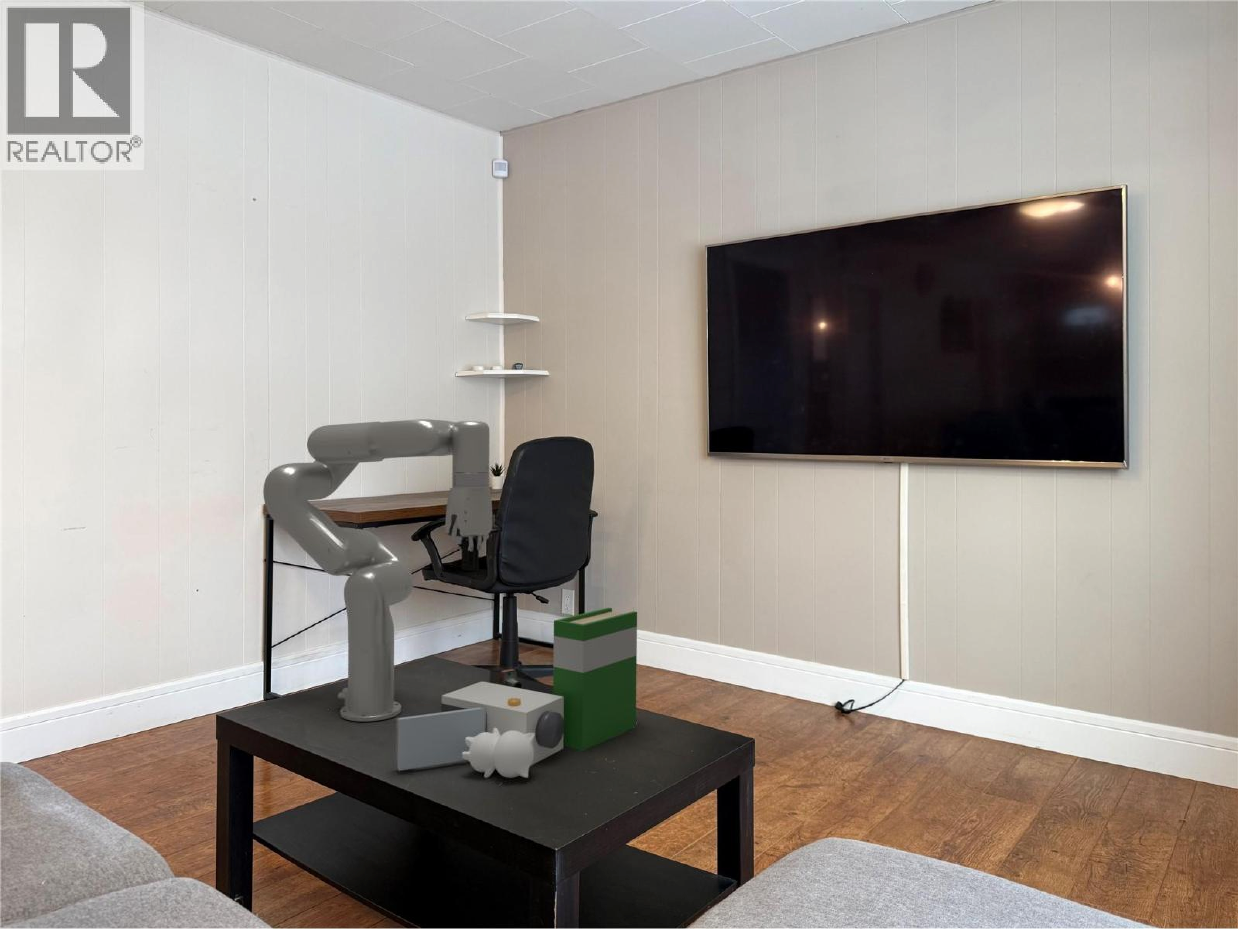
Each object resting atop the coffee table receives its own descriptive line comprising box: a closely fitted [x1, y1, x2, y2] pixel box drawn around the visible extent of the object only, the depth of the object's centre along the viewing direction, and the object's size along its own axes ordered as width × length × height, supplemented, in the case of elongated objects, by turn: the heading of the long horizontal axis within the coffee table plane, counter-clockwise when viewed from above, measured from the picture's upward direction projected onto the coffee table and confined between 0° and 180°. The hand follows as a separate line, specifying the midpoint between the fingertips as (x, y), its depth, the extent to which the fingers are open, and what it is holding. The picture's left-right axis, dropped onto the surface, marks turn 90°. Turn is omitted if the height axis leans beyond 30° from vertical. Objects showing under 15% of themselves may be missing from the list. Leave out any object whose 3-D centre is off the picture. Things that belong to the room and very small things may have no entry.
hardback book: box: [552, 607, 638, 752], centre depth 177 cm, size 18×7×24 cm, turn 144°
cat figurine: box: [462, 728, 535, 779], centre depth 157 cm, size 9×11×12 cm
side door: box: [395, 707, 486, 772], centre depth 160 cm, size 16×3×9 cm, turn 117°
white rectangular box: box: [440, 681, 564, 767], centre depth 168 cm, size 22×12×11 cm, turn 60°
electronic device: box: [488, 667, 523, 689], centre depth 198 cm, size 4×10×8 cm, turn 42°
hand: (470, 569), depth 183 cm, fingers closed
